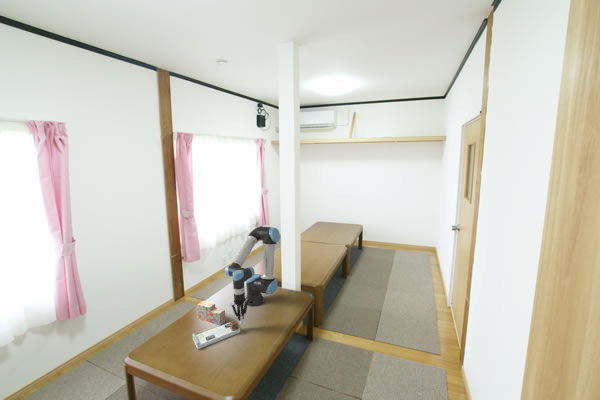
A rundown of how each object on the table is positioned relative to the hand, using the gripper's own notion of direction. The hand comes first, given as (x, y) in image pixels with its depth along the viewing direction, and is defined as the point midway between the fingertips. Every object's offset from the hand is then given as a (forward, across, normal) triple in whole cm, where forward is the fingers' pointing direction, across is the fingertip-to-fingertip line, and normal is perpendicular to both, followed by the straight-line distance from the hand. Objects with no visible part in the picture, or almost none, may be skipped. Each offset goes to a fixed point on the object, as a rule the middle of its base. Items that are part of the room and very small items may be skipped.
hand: (241, 323), depth 197 cm
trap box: (+4, +17, -3) cm, 18 cm away
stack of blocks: (+4, +13, -25) cm, 28 cm away
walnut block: (+2, +5, 0) cm, 6 cm away
